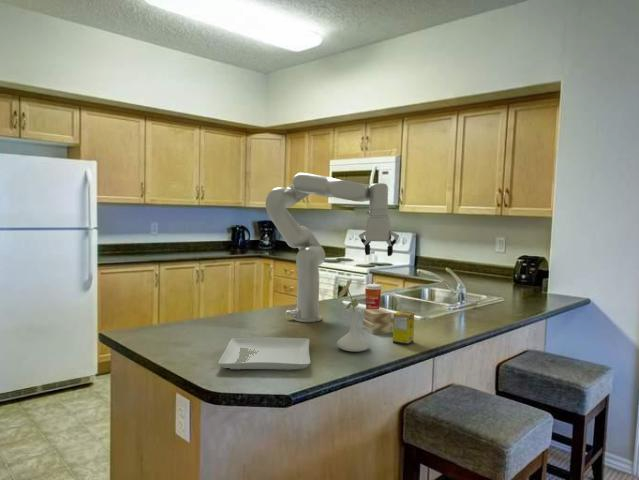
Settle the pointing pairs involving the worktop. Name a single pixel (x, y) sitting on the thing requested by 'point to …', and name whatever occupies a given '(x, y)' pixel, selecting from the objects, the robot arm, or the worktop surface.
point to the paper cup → (373, 296)
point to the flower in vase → (352, 328)
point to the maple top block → (377, 316)
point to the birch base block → (377, 327)
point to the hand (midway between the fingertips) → (378, 255)
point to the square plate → (268, 353)
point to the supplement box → (403, 328)
